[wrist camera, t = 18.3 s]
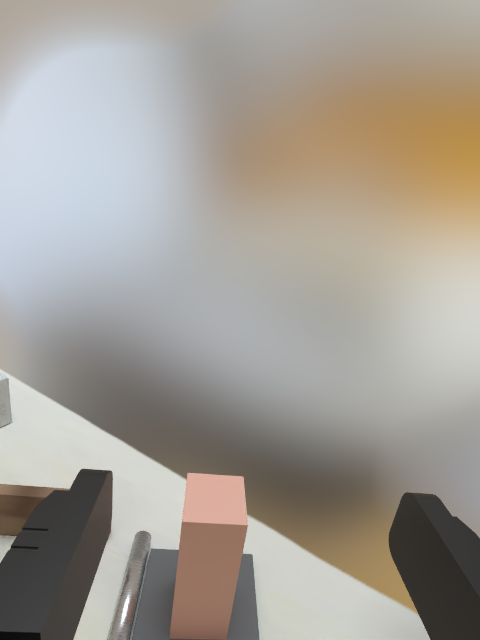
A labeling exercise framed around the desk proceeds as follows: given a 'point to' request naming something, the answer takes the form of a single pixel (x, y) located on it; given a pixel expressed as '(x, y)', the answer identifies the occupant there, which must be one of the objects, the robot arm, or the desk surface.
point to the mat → (160, 595)
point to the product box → (4, 401)
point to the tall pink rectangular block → (208, 556)
